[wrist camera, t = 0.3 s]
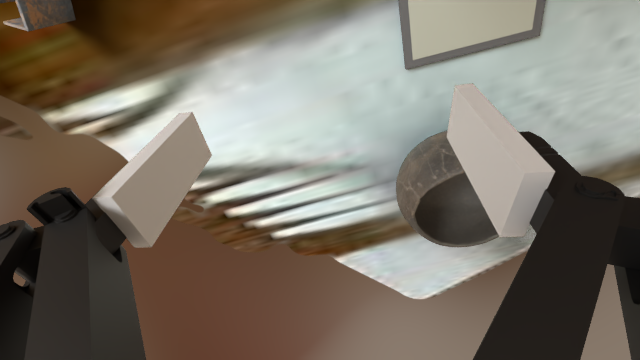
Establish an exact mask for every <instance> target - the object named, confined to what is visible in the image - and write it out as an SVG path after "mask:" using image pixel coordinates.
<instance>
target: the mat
mask: <svg viewBox="0 0 640 360" xmlns="http://www.w3.org/2000/svg"><path fill="white" fill-rule="evenodd" d="M398 1H399V11H400V21H401V31H402V41H403V51H404V61H405V69H409V68H413V67H417V66H421V65H425V64H429V63H433V62H437V61H441V60H445V59H449V58H453V57H457V56H461V55H465V54H469V53H473V52H477V51H481V50H485V49H489V48H493V47H497V46H500V45H504V44H508V43H512V42H516V41H520V40H524V39H528V38H532V37H536V36H540V31H541V25H542V19H543V13H544V7H545V1H546V0H398Z"/></svg>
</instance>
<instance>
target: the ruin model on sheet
mask: <svg viewBox="0 0 640 360" xmlns="http://www.w3.org/2000/svg"><path fill="white" fill-rule="evenodd" d="M11 1H16V4H17V7H18V9H19V12H20V15H21V18H18V19H13V20H8V21H3V22H4V24H6V25H9V26H12V27H16V28H19V29H23V30H26V31H32V30H36V29H40V28H44V27H48V26H53V25H57V24H61V23H65V22H69V21H73V20H76V19H75V15H74V11H73V7H72V3H71V0H0V3H4V2H11Z"/></svg>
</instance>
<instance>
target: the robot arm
mask: <svg viewBox="0 0 640 360" xmlns="http://www.w3.org/2000/svg"><path fill="white" fill-rule="evenodd" d="M447 139H448V141H449V143H450V144H451V146H452V148H453V150H454V152H455V154H456V156H457V158H458V160H459V161H460V163H461V165H462V167H463V169H464V171H465V173H466V175H467V176H468V178H469V180H470V182H471V184H472V186H473V188H474V190H475V192H476V193H477V195H478V197H479V199H480V201H481V203H482V205H483V207H484V208H485V210H486V212H487V214H488V216H489V218H490V220H491V222H492V224H493V225H494V227H495V229H496V231H497V233H498V235H499V237H524V236H525V234H526V232H527V230H528V228H529V226H530V224H531V226H532V227H533V229H534V230H535V232H536V233H537V235H536V237H535V239H534V241H533V242H532V244H531V246H530V248H529V250H528V252H527V254H526V257H525V258H524V260H523V262H522V264H521V266H520V268H519V270H518V272H517V274H516V276H515V278H514V280H513V282H512V284H511V286H510V288H509V290H508V292H507V294H506V295H505V297H504V299H503V301H502V304H501V305H500V307H499V310H498V311H497V314H496V315H495V317H494V319H493V321H492V323H491V325H490V327H489V329H488V331H487V333H486V335H485V337H484V338H483V340H482V342H481V345H480V346H479V349H478V350H477V352H476V354H475V356H474V358H473V360H580V359H581V355H582V351H583V348H584V344H585V341H586V337H587V333H588V330H589V327H590V323H591V320H592V316H593V313H594V309H595V306H596V302H597V299H598V295H599V292H600V288H601V285H602V281H603V278H604V274H605V270H606V266H607V264H611V265H614V268H615V274H616V279H617V285H618V290H619V295H620V301H621V306H622V311H623V317H624V322H625V327H626V333H627V338H628V343H629V348H630V354H631V359H632V360H640V198H634V197H627V196H625V195H624V194H623V192H622V191H621V190H620V189H619V188H617V187H616V186H614V185H612V184H611V183H609V182H606V181H603V180H601V179H598V178H593V177H587V176H581V175H580V174H579V173H578V172H577V171H576V170H575V169H574V168H573V167H572V166H571V165H570V164H569V163H568V162H567V161H566V160H565V159H564V158H563V157H562V156H560V155H558V153H557V152H556V151H555V150H554V149H553V148H551V146H550V145H549V144H548V143H547V142H546V141H545V140H544V139H543V138H541V137H539V136H537V135H535V134H533V133H531V132H529V131H528V132H518V131H517V130H516V129H515V128H514V127H513V126H512V125H511V124H510V123H509V122H508V121H507V119H506V118H505V117H504V116H503V115H502V114H501V113H500V112H499V111H498V110H497V109H496V108H495V107H494V106H493V105H492V103H491V102H490V101H489V100H488V99H487V98H486V97H485V96H484V95H483V94H482V93H481V92H480V91H479V90H478V89H477V88H476V86H475V85H474V84H473V83H472V84H462V85H455V88H454V94H453V101H452V107H451V113H450V119H449V125H448V131H447ZM211 156H212V154H211V152H210V150H209V148H208V146H207V143H206V141H205V139H204V137H203V134H202V132H201V130H200V128H199V126H198V123H197V121H196V119H195V117H194V114H193V112H188V113H179V114H178V115H177V116H176V117H175V118H174V119H173V120H172V121H171V122H170V123H169V124H168V125H167V126H166V127H165V128H164V129H163V130H162V131H161V132H160V133H159V134H158V135H156V136H155V137H154V138H153V139H152V140H151V141H150V142H149V143H148V144H147V145H146V146H145V147H144V148H143V149H142V150H141V151H140V152H139V153H138V154H137V155H136V156H135V157H134V158H133V159H132V160H131V161H130V162H129V163H128V164H127V165H126V166H125V167H124V168H123V169H121V170H120V171H119V172H118V173H117V174H116V175H115V176H114V177H113V178H112V179H111V180H110V181H109V182H108V183H107V184H106V185H105V186H104V187H103V188H102V189H101V190H100V191H99V192H97V194H95V195H94V196H93V197H92V198H91V199H90V200H89V201H88V202H87V203H86V204H84V203H83V202H82V201H81V200H80V199H79V198H78V197H77V196H76V194H75V193H74V192H73V191H72V190H71V189H70V188H66V187H65V188H58V189H55V190H52V191H50V192H47V193H45V194H43V195H41V196H40V197H38V198H37V199H35V200H34V201H33V202H32V203H31V204H30V205H29V206H28V208H27V210H28V211H29V212H30V213H31V214H32V215H33V216H35V217H36V218H37V219H38V220H39V221H40V222H41V223H42V224H43V225H44V226H41V227H38V228H34V229H33V228H32V227H31V226H30V225H28V224H27V223H26V222H25V221H23V220H17V221H12V222H9V223H7V224H3V225H1V226H0V360H146V357H145V351H144V346H143V340H142V335H141V329H140V324H139V319H138V313H137V308H136V303H135V297H134V292H133V286H132V281H131V275H130V270H129V264H128V259H127V253H126V250H125V249H124V248H123V246H122V245H121V244H122V243H123V242H124V240H125V239H126V238H127V239H128V240H129V242H130V243H131V244H132V245H133V246H134V247H135V248H136V247H152V245H153V244H154V242H155V241H156V239H157V238H158V236H159V235H160V233H161V232H162V230H163V229H164V227H165V226H166V224H167V223H168V221H169V219H170V218H171V217H172V215H173V214H174V212H175V211H176V209H177V208H178V206H179V205H180V203H181V201H182V200H183V198H184V197H185V195H186V194H187V192H188V191H189V189H190V188H191V186H192V185H193V183H194V182H195V180H196V179H197V177H198V176H199V174H200V173H201V171H202V170H203V168H204V167H205V165H206V164H207V162H208V161H209V159H210V157H211ZM14 272H15V273H16V274H18V275H19V276H21V277H22V278H23V279H25V280H26V282H25V284H24V286H23V287H22V286H19V285H18V284H16V283H15V282H14V280H13V275H14Z"/></svg>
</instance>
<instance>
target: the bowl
mask: <svg viewBox="0 0 640 360" xmlns="http://www.w3.org/2000/svg"><path fill="white" fill-rule="evenodd" d="M396 194H397V201H398V205H399V208H400V210H401V212H402V214H403V216H404V218H405V219H406V220H407V221H408V223H409V224H410V225H411V227H412V228H413V229H414V230H415V231H416V232H418V233H419V234H420V235H421V236H423V237H424V238H426V239H427V240H429V241H431V242H433V243H436V244H439V245H442V246H448V247H468V246H474V245H479V244H482V243H485V242H488V241H490V240H493V239H495V238H497V237H499V235H498V233H497V231H496V229H495V227H494V225H493V224H492V222H491V220H490V218H489V216H488V214H487V212H486V210H485V208H484V207H483V205H482V203H481V201H480V199H479V197H478V195H477V193H476V192H475V190H474V188H473V186H472V184H471V182H470V180H469V178H468V176H467V175H466V173H465V171H464V169H463V167H462V165H461V163H460V161H459V160H458V158H457V156H456V154H455V152H454V150H453V148H452V146H451V144H450V143H449V141H448V139H447V131H444V132H441V133H438V134H436V135H434V136H431V137H429V138H427V139H425V140H424V141H422V142H421V143H420V144H418V145H417V146H416V147H415V148H414V149H413V150H412V151H411V152H410V153H409V154H408V155H407V157H406V158H405V160H404V162H403V163H402V165H401V168H400V170H399V174H398V177H397V182H396Z"/></svg>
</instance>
